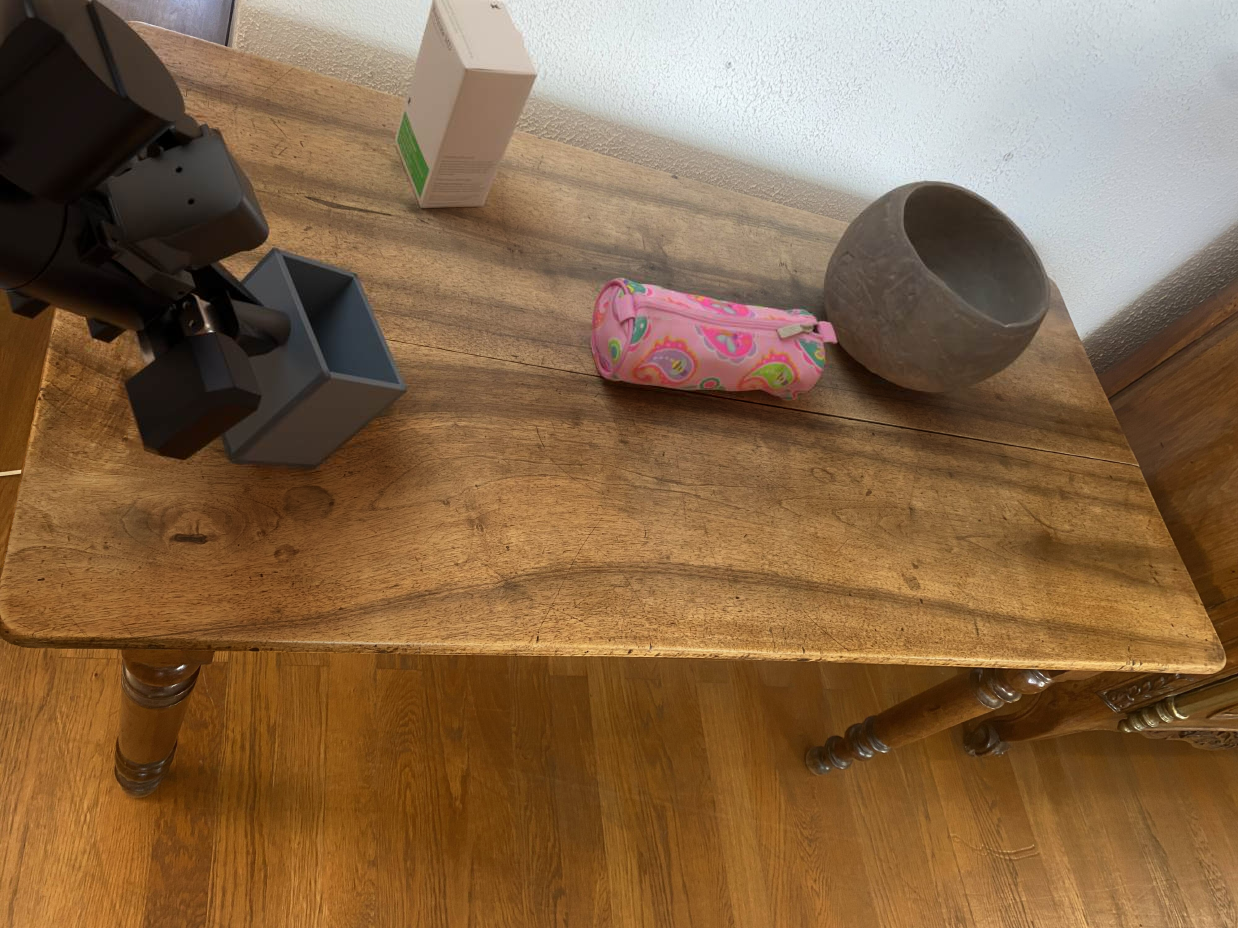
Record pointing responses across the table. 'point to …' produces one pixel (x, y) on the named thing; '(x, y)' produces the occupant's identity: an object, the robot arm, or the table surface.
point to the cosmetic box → (463, 102)
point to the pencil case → (705, 342)
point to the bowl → (935, 288)
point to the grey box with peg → (311, 364)
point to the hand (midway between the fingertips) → (266, 330)
